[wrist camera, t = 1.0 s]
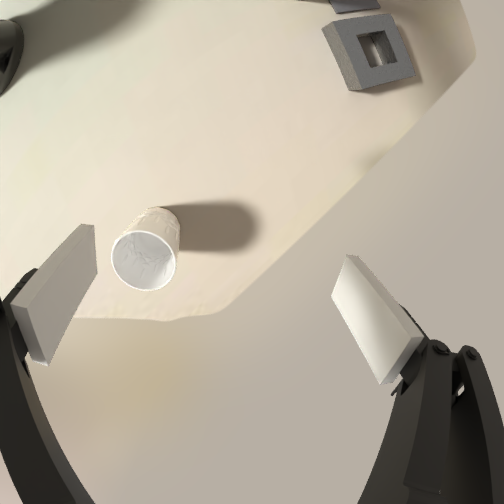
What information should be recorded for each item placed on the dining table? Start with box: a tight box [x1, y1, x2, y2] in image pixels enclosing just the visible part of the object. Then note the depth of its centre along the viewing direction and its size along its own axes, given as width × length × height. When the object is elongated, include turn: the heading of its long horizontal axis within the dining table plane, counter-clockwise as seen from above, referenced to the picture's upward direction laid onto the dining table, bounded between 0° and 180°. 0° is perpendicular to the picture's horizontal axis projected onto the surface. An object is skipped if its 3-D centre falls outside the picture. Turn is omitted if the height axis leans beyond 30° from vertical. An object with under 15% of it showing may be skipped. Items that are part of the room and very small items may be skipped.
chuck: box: [322, 14, 416, 91], centre depth 29 cm, size 10×10×4 cm
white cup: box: [111, 207, 180, 291], centre depth 35 cm, size 8×8×10 cm
